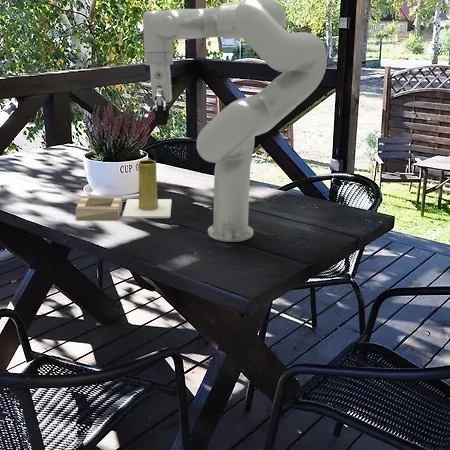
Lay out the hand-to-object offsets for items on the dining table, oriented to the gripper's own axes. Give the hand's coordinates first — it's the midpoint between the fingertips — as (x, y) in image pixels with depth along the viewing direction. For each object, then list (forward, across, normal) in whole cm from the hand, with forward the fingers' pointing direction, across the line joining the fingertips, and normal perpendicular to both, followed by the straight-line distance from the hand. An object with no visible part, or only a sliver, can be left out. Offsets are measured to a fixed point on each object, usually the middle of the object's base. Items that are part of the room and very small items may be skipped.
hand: (162, 122), depth 168 cm
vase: (+27, +8, +6) cm, 29 cm away
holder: (+27, +4, +20) cm, 34 cm away
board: (+28, +8, +6) cm, 30 cm away
